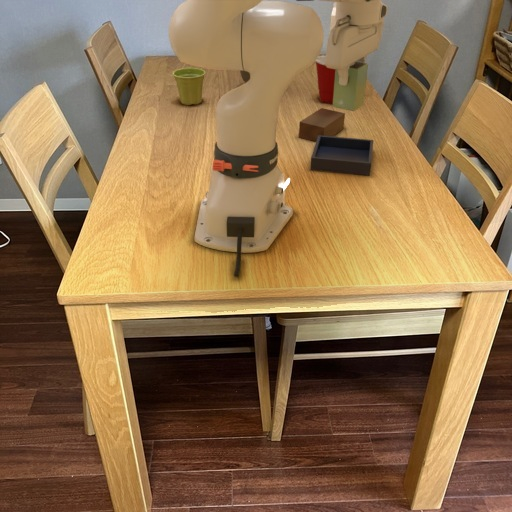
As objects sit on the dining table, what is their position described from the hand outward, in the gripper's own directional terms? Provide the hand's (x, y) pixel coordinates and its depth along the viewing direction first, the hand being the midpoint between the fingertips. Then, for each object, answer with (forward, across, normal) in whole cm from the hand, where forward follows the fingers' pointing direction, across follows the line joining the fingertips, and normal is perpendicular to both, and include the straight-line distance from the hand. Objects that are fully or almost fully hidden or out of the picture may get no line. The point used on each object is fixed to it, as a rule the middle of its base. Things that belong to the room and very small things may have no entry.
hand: (350, 80), depth 120 cm
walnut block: (+19, +12, +12) cm, 26 cm away
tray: (+19, 0, 0) cm, 19 cm away
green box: (+5, 0, +3) cm, 6 cm away
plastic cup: (+19, +36, +22) cm, 46 cm away
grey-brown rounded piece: (+19, +34, +44) cm, 59 cm away
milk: (+19, +61, +32) cm, 72 cm away
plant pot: (+19, +12, +55) cm, 59 cm away
